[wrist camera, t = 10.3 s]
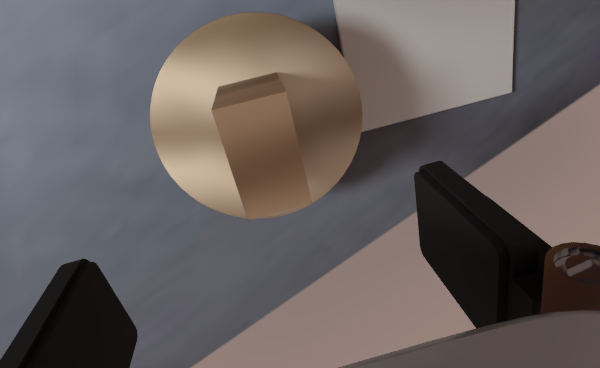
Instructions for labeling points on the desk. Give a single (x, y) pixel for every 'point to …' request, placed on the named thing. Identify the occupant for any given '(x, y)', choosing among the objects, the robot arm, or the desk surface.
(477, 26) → the mat
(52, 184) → the desk surface
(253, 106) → the lid
